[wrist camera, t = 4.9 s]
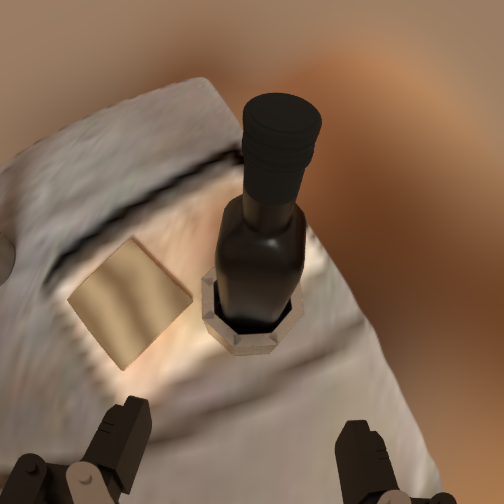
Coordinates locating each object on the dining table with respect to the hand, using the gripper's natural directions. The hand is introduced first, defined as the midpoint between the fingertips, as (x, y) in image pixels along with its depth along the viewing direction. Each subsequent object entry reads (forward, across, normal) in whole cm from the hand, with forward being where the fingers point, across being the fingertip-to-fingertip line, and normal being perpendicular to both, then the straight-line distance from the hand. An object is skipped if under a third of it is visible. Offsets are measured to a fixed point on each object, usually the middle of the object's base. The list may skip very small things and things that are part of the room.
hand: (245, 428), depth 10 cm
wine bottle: (+25, 0, +10) cm, 27 cm away
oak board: (+25, +16, +10) cm, 31 cm away
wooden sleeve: (+25, 0, +10) cm, 27 cm away
